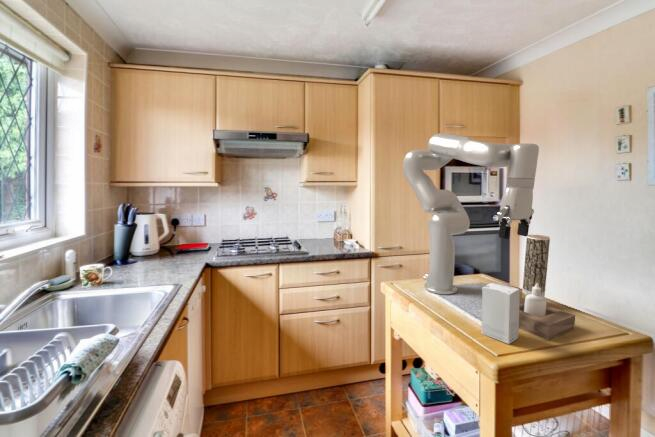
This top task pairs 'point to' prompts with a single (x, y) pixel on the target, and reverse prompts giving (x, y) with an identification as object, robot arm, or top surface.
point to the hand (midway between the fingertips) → (513, 236)
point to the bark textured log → (535, 263)
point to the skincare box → (500, 312)
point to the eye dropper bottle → (535, 302)
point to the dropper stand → (546, 322)
